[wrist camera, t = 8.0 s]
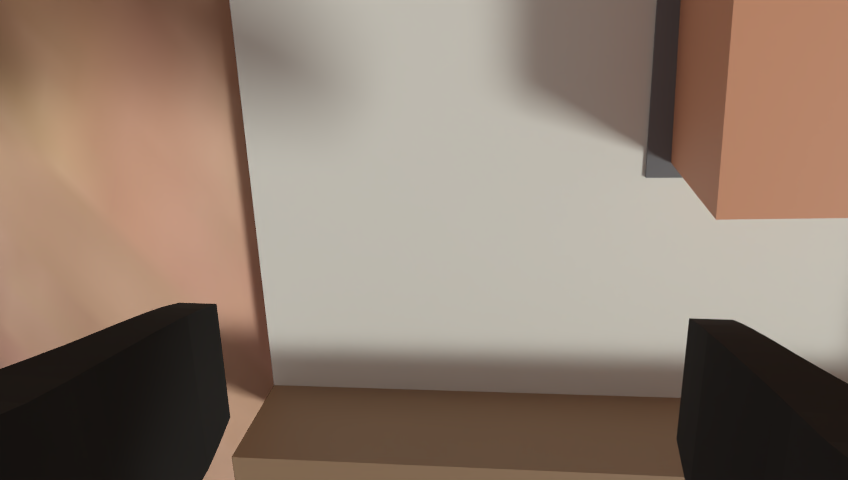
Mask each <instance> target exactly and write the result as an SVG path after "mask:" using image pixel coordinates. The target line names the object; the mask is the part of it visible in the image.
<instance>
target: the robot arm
mask: <svg viewBox="0 0 848 480" xmlns="http://www.w3.org/2000/svg"><path fill="white" fill-rule="evenodd" d="M229 419H230V412H229V404H228V396H227V387H226V379H225V371H224V363H223V354H222V346H221V338H220V330H219V321H218V313H217V305H216V304H198V303H177V304H172V305H168V306H165V307H161V308H158V309H155V310H152V311H149V312H147V313H144V314H141V315H139V316H136V317H133V318H131V319H128V320H126V321H123V322H121V323H118V324H116V325H113V326H111V327H108V328H106V329H103V330H101V331H98V332H96V333H93V334H91V335H89V336H86V337H84V338H81V339H79V340H76V341H74V342H71V343H69V344H66V345H64V346H61V347H58V348H56V349H53V350H50V351H48V352H45V353H42V354H40V355H37V356H34V357H32V358H29V359H26V360H23V361H21V362H18V363H15V364H13V365H10V366H7V367H5V368H2V369H0V480H202V479H203V477H204V476H205V474H206V472H207V471H208V469H209V467H210V464H211V462H212V460H213V458H214V455H215V453H216V451H217V449H218V446H219V444H220V441H221V439H222V436H223V434H224V431H225V429H226V426H227V424H228V421H229ZM676 439H677V444H678V449H679V454H680V459H681V464H682V469H683V473H684V478H685V480H848V383H846V382H844V381H842V380H841V379H839V378H837V377H835V376H833V375H832V374H830V373H828V372H826V371H825V370H823V369H821V368H819V367H818V366H816V365H814V364H812V363H811V362H809V361H807V360H806V359H804V358H802V357H800V356H799V355H797V354H795V353H794V352H792V351H790V350H789V349H787V348H785V347H783V346H782V345H780V344H778V343H777V342H775V341H773V340H772V339H770V338H768V337H766V336H765V335H763V334H761V333H759V332H757V331H756V330H754V329H752V328H750V327H748V326H746V325H744V324H742V323H740V322H737V321H735V320H726V319H693V318H689V324H688V333H687V343H686V352H685V362H684V371H683V381H682V390H681V400H680V409H679V419H678V428H677V438H676Z"/></svg>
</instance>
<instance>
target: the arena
mask: <svg viewBox="0 0 848 480" xmlns="http://www.w3.org/2000/svg"><path fill="white" fill-rule="evenodd" d="M229 1H230V10H231V19H232V27H233V36H234V44H235V53H236V62H237V70H238V79H239V87H240V96H241V105H242V113H243V122H244V131H245V139H246V148H247V156H248V165H249V174H250V182H251V191H252V199H253V208H254V217H255V225H256V234H257V242H258V251H259V260H260V268H261V277H262V285H263V294H264V303H265V311H266V320H267V328H268V337H269V346H270V354H271V363H272V371H273V380H274V386H273V388H272V390H271V391H270V393H269V395H268V396H267V398H266V400H265V401H264V403H263V405H262V407H261V408H260V410H259V412H258V413H257V415H256V417H255V418H254V420H253V422H252V424H251V425H250V427H249V429H248V430H247V432H246V434H245V435H244V437H243V439H242V441H241V442H240V444H239V446H238V447H237V449H236V451H235V452H234V454H233V456H232V463H233V470H234V477H235V480H685V478H684V473H683V469H682V464H681V459H680V454H679V449H678V444H677V439H676V438H677V428H678V419H679V409H680V400H681V390H682V381H683V371H684V362H685V352H686V343H687V333H688V324H689V318H693V319H726V320H735V321H737V322H740V323H742V324H744V325H746V326H748V327H750V328H752V329H754V330H756V331H757V332H759V333H761V334H763V335H765V336H766V337H768V338H770V339H772V340H773V341H775V342H777V343H778V344H780V345H782V346H783V347H785V348H787V349H789V350H790V351H792V352H794V353H795V354H797V355H799V356H800V357H802V358H804V359H806V360H807V361H809V362H811V363H812V364H814V365H816V366H818V367H819V368H821V369H823V370H825V371H826V372H828V373H830V374H832V375H833V376H835V377H837V378H839V379H841V380H842V381H844V382H846V383H848V218H811V219H730V220H716V219H715V218H714V217H713V215H712V214H711V213H710V212H709V210H708V209H707V208H706V206H705V205H704V204H703V203H702V201H701V200H700V199H699V198H698V196H697V195H696V194H695V193H694V191H693V190H692V189H691V187H690V186H689V185H688V184H687V182H686V181H685V180H684V179H683V178H646V177H645V171H646V156H647V141H648V125H649V110H650V95H651V80H652V65H653V49H654V34H655V19H656V4H657V0H229Z"/></svg>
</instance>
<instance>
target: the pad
mask: <svg viewBox="0 0 848 480" xmlns="http://www.w3.org/2000/svg"><path fill="white" fill-rule="evenodd" d="M680 2H681V0H657V4H656V19H655V34H654V49H653V65H652V80H651V95H650V110H649V125H648V141H647V156H646V171H645V177H646V178H683V177H682V176H681V175H680V174H679V172H678V171H677V170H676V168H675V167H674V166H673V165H672V163H671V154H672V137H673V120H674V103H675V86H676V70H677V53H678V36H679V19H680Z"/></svg>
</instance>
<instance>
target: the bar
mask: <svg viewBox="0 0 848 480" xmlns="http://www.w3.org/2000/svg"><path fill="white" fill-rule="evenodd" d="M671 163H672V165H673V166H674V167H675V168H676V170H677V171H678V172H679V174H680V175H681V176H682V177H683V179H684V180H685V181H686V182H687V184H688V185H689V186H690V187H691V189H692V190H693V191H694V193H695V194H696V195H697V196H698V198H699V199H700V200H701V201H702V203H703V204H704V205H705V206H706V208H707V209H708V210H709V212H710V213H711V214H712V215H713V217H714V218H715V219H716V220H730V219H811V218H848V0H681V2H680V19H679V36H678V53H677V70H676V86H675V103H674V120H673V137H672V154H671Z"/></svg>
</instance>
